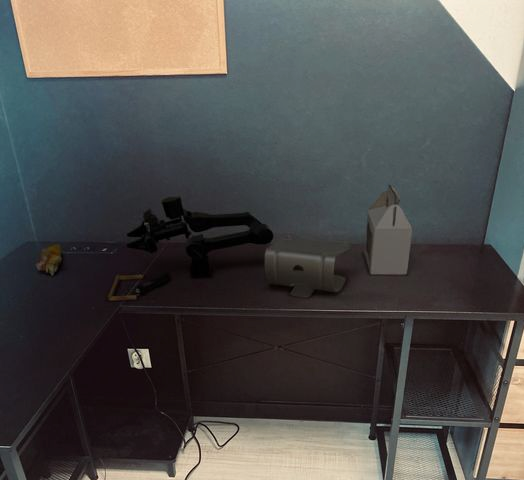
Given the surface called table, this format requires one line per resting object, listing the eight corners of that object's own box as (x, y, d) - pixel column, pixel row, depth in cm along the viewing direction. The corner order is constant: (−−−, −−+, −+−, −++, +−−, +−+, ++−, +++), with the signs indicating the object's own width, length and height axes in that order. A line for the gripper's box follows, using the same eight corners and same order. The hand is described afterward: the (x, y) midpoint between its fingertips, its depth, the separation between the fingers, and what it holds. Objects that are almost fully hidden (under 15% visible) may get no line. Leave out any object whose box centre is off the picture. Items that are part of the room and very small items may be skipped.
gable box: (406, 275, 194) (416, 198, 179) (370, 274, 195) (377, 198, 180) (397, 253, 213) (405, 182, 198) (364, 253, 214) (370, 182, 199)
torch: (62, 263, 222) (53, 278, 199) (43, 255, 219) (31, 271, 196) (69, 244, 219) (60, 258, 197) (49, 237, 217) (38, 250, 194)
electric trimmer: (173, 281, 194) (172, 273, 192) (140, 296, 183) (139, 287, 182) (166, 279, 196) (165, 271, 194) (133, 293, 185) (132, 285, 184)
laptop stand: (262, 293, 183) (261, 250, 175) (283, 268, 202) (283, 228, 194) (334, 303, 175) (337, 259, 167) (350, 276, 194) (352, 235, 186)
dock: (143, 277, 197) (142, 273, 196) (136, 299, 181) (135, 295, 180) (117, 278, 197) (116, 275, 196) (108, 300, 181) (107, 296, 180)
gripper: (161, 198, 191) (119, 209, 190) (164, 218, 176) (118, 230, 175) (170, 226, 197) (130, 237, 197) (173, 247, 182) (129, 259, 182)
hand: (127, 240), depth 187 cm, fingers open, 9 cm apart
